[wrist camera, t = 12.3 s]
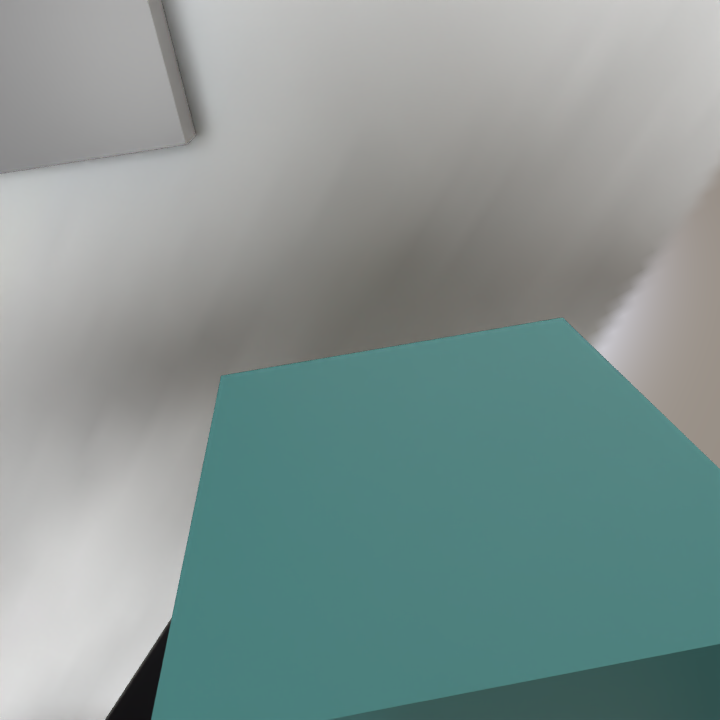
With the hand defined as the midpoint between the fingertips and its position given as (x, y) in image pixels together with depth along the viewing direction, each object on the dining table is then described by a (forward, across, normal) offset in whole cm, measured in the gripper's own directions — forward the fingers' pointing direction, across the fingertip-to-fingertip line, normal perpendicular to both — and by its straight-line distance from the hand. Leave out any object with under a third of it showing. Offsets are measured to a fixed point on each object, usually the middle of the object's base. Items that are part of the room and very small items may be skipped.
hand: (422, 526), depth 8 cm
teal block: (+1, 0, 0) cm, 1 cm away
